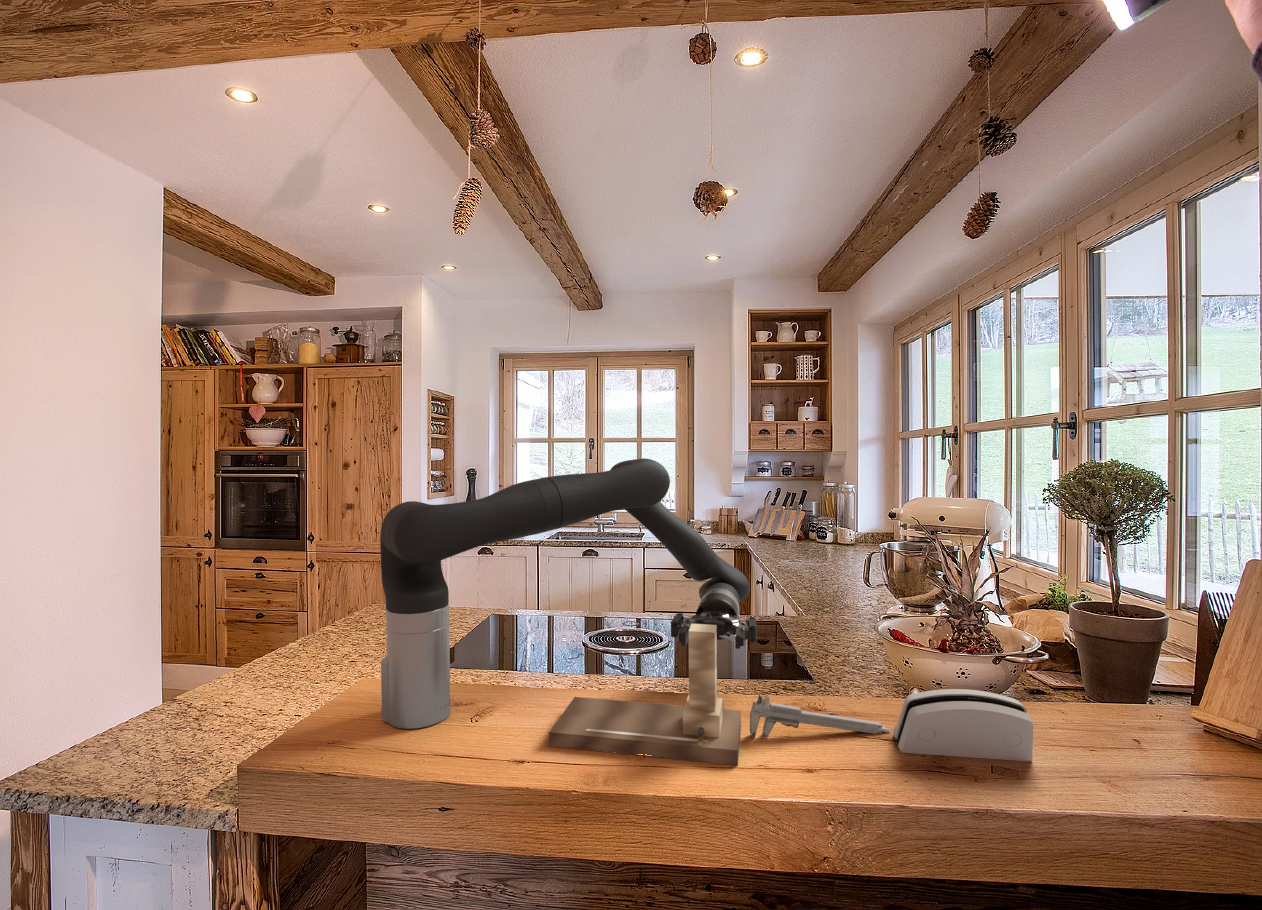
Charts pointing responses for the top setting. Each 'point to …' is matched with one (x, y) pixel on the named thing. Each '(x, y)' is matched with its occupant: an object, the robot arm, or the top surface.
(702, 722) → the beige tall block
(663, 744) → the board
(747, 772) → the top surface
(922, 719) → the grey toaster
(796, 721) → the caliper
